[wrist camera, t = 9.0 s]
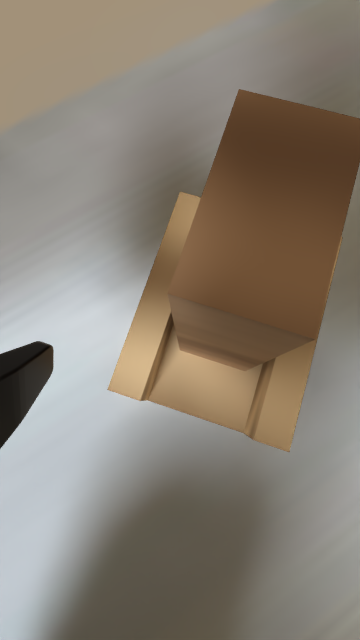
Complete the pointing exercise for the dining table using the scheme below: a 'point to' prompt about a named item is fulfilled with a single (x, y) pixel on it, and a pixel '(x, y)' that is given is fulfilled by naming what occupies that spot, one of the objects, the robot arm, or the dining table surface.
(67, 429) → the dining table surface
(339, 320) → the dining table surface
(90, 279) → the dining table surface
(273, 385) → the oak base
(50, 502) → the dining table surface
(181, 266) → the brown cardboard box
